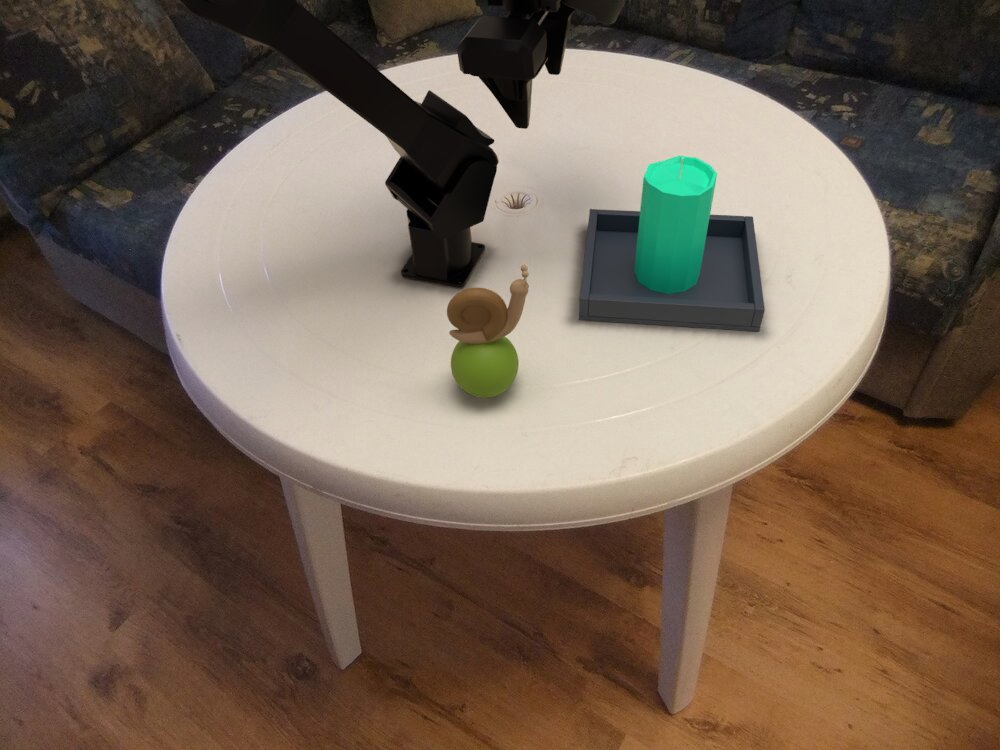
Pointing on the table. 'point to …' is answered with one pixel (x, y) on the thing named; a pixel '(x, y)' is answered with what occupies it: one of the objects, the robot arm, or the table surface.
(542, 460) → the table surface
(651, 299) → the tray
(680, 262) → the candle
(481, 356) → the snail figurine
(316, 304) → the table surface
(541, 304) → the table surface
